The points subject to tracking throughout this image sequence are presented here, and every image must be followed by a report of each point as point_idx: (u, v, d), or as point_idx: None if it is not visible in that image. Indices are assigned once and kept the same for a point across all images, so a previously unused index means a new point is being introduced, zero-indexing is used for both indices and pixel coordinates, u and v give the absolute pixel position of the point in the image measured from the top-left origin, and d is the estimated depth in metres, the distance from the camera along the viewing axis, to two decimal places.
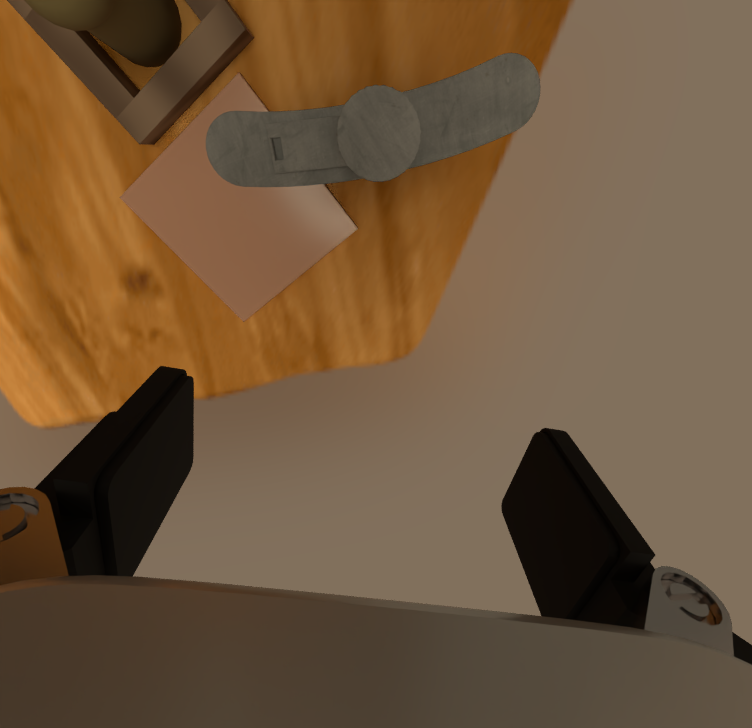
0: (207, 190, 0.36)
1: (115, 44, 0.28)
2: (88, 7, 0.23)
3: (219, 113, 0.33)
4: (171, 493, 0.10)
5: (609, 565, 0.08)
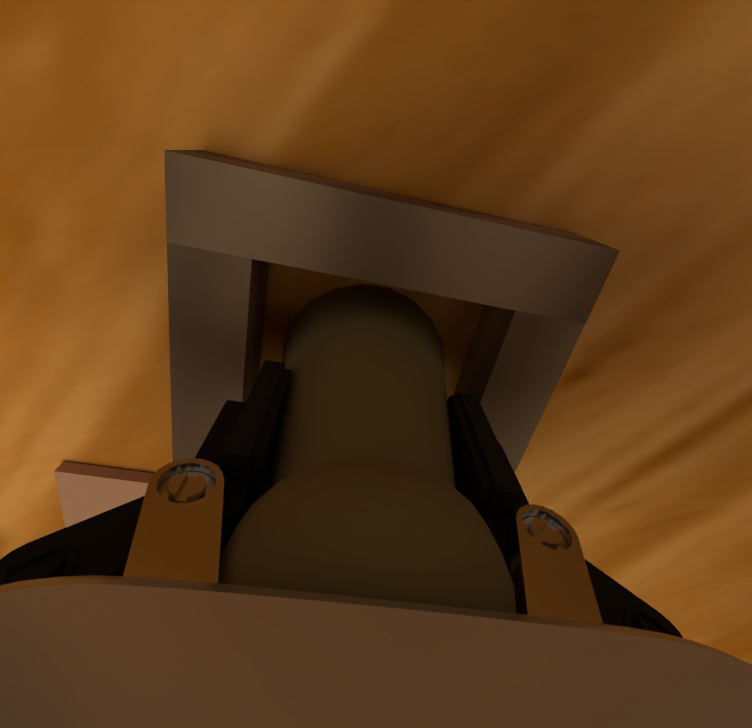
0: None
1: None
2: None
3: None
4: None
5: (484, 504, 0.08)
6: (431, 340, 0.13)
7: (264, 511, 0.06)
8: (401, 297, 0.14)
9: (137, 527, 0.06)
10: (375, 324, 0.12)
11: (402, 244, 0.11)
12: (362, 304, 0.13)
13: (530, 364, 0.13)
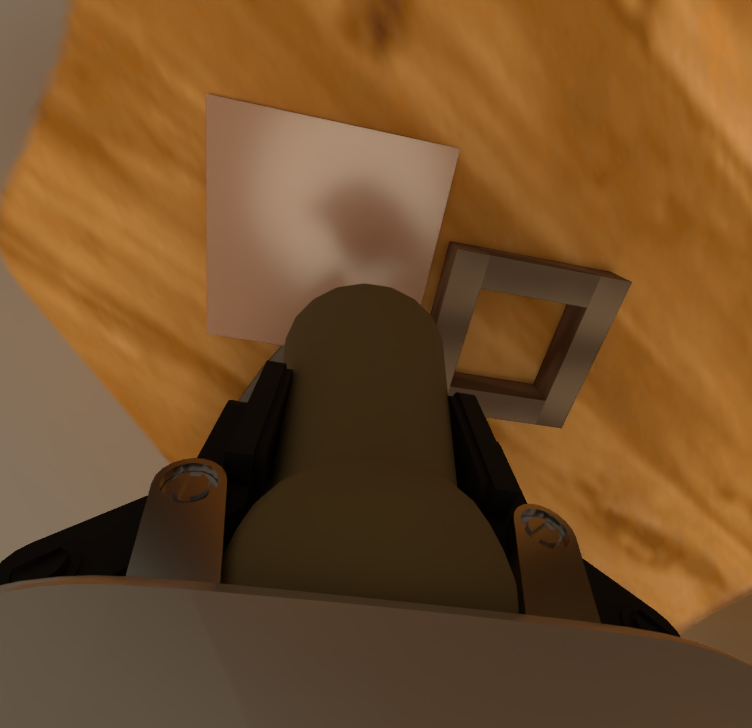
0: (370, 244, 0.27)
1: None
2: None
3: None
4: None
5: (482, 504, 0.08)
6: (433, 339, 0.13)
7: (267, 510, 0.06)
8: (403, 296, 0.14)
9: (140, 527, 0.06)
10: (377, 323, 0.12)
11: (579, 361, 0.29)
12: (364, 303, 0.13)
13: (521, 410, 0.31)
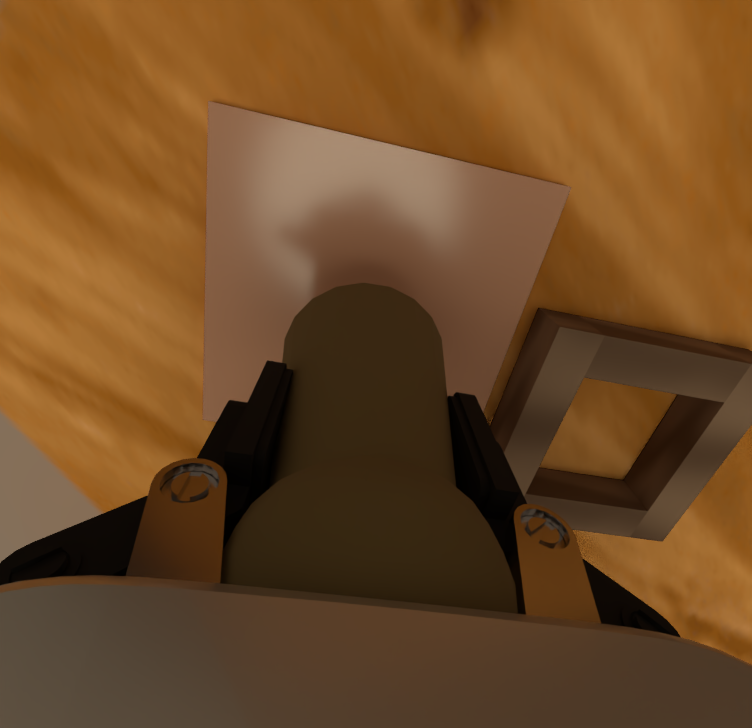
0: (432, 312, 0.20)
1: None
2: None
3: None
4: None
5: (482, 504, 0.08)
6: (432, 339, 0.13)
7: (264, 509, 0.06)
8: (402, 295, 0.14)
9: (140, 526, 0.06)
10: (376, 322, 0.12)
11: (701, 465, 0.22)
12: (363, 302, 0.13)
13: (614, 521, 0.24)
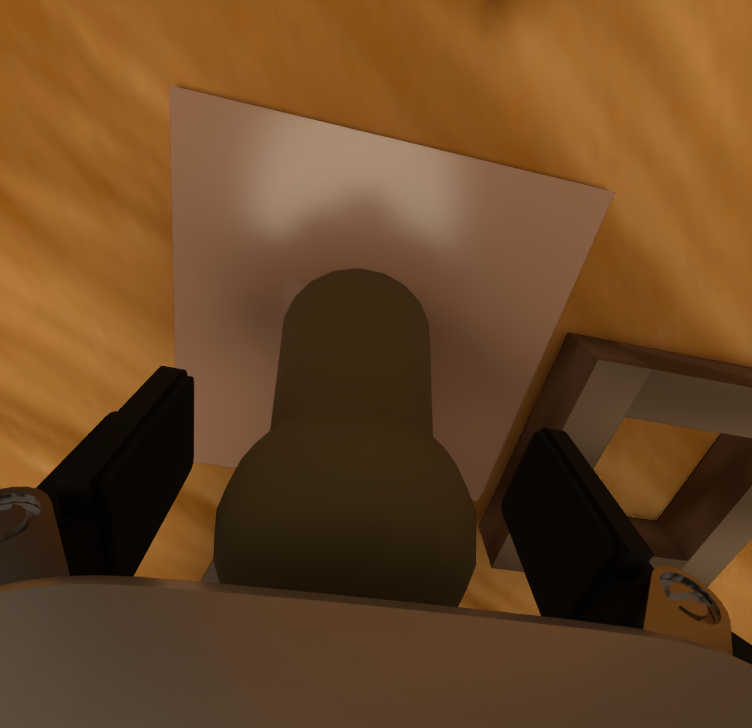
0: (444, 338, 0.17)
1: None
2: None
3: (481, 449, 0.19)
4: (172, 493, 0.10)
5: (608, 565, 0.08)
6: (419, 320, 0.14)
7: (268, 441, 0.07)
8: (393, 281, 0.15)
9: None
10: (368, 302, 0.13)
11: None
12: (357, 285, 0.14)
13: None
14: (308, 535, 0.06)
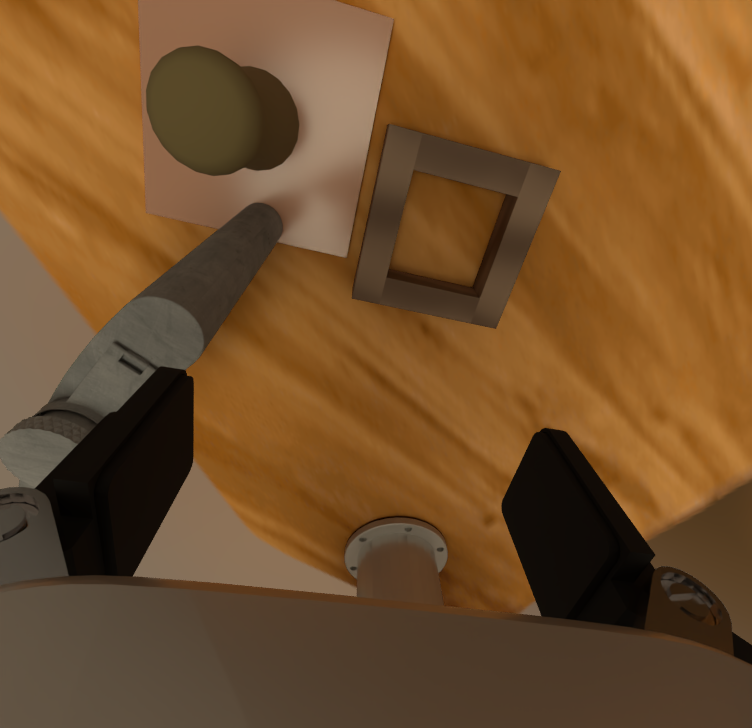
0: (307, 121, 0.27)
1: None
2: (201, 170, 0.20)
3: (342, 212, 0.30)
4: (171, 493, 0.10)
5: (609, 565, 0.08)
6: (281, 91, 0.25)
7: None
8: (271, 74, 0.26)
9: None
10: (246, 68, 0.24)
11: (512, 255, 0.30)
12: (244, 66, 0.25)
13: (456, 306, 0.32)
14: (177, 66, 0.17)
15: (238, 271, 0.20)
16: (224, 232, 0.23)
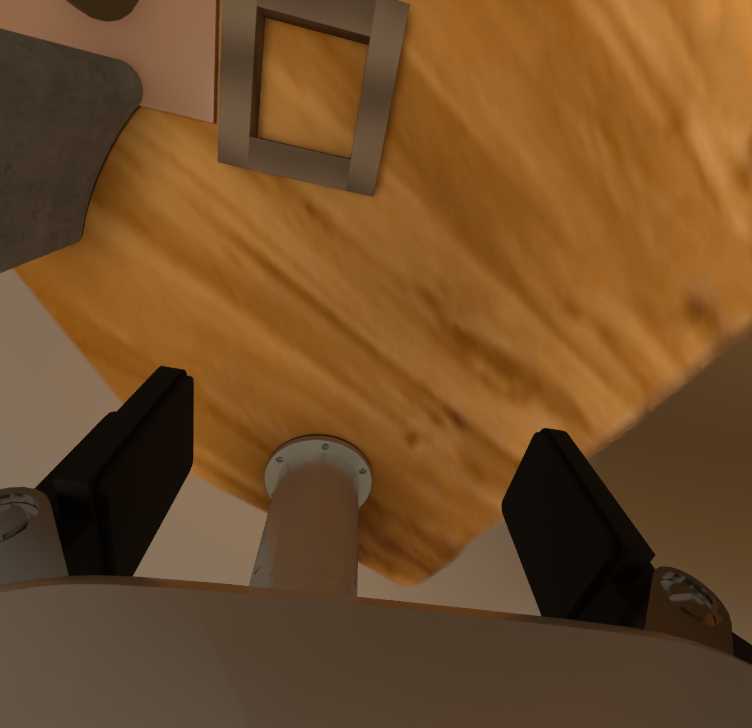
0: None
1: None
2: None
3: (200, 68, 0.30)
4: (171, 493, 0.10)
5: (609, 565, 0.08)
6: None
7: None
8: None
9: None
10: None
11: (375, 107, 0.29)
12: None
13: (327, 170, 0.31)
14: None
15: (18, 50, 0.20)
16: None
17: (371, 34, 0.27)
